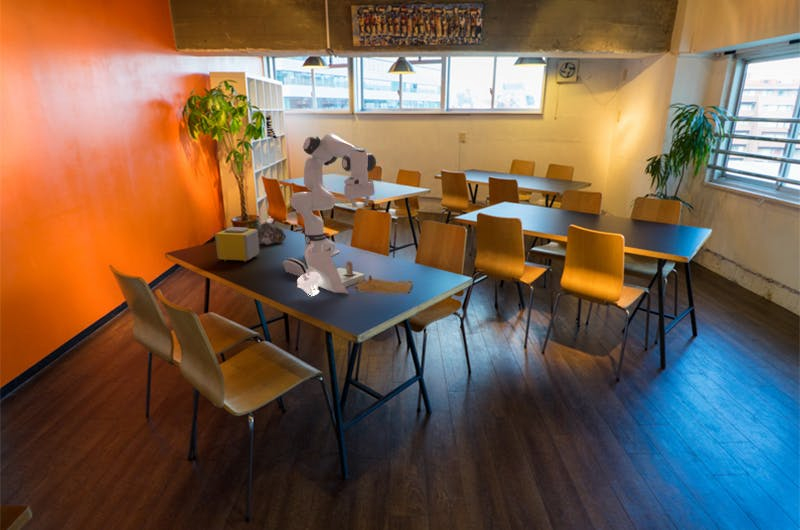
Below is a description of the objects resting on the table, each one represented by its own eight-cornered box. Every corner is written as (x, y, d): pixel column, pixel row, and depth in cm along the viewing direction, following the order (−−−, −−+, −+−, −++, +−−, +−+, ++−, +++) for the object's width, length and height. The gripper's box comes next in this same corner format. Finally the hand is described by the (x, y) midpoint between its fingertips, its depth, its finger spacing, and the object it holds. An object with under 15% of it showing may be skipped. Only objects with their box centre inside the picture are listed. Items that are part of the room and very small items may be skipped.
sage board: (340, 272, 246) (340, 267, 245) (364, 279, 236) (364, 274, 235) (315, 281, 233) (314, 275, 232) (340, 289, 222) (339, 283, 221)
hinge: (312, 276, 241) (306, 260, 236) (305, 281, 238) (299, 265, 233) (293, 269, 251) (287, 254, 246) (286, 274, 249) (280, 259, 243)
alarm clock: (261, 256, 276) (258, 226, 270) (248, 264, 261) (245, 232, 255) (231, 254, 279) (228, 225, 273) (217, 262, 264) (213, 231, 259)
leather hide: (345, 292, 222) (345, 283, 220) (380, 274, 241) (380, 266, 239) (391, 313, 207) (391, 304, 204) (424, 292, 226) (425, 283, 224)
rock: (266, 221, 292) (265, 212, 305) (252, 237, 294) (251, 228, 306) (289, 237, 302) (286, 228, 314) (275, 253, 304) (273, 243, 316)
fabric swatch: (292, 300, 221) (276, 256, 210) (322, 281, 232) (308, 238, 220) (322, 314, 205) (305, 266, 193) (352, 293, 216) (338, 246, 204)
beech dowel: (349, 279, 236) (349, 259, 233) (354, 280, 234) (354, 260, 231) (345, 280, 234) (344, 261, 231) (350, 282, 232) (349, 262, 229)
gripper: (368, 177, 250) (368, 202, 254) (341, 181, 234) (342, 207, 239) (377, 178, 246) (377, 203, 250) (350, 181, 231) (351, 208, 235)
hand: (360, 205), depth 244 cm, fingers open, 8 cm apart
